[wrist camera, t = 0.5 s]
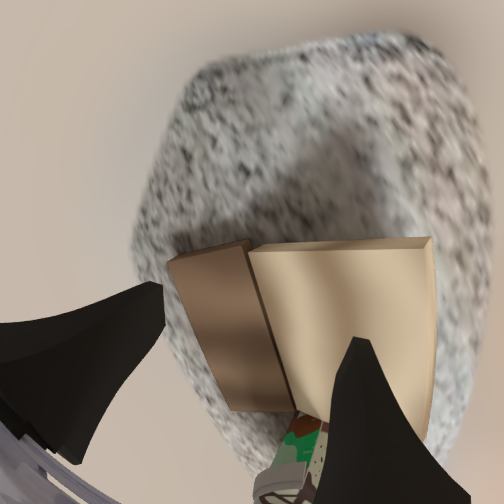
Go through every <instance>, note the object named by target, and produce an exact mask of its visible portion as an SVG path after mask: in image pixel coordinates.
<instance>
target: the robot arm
mask: <svg viewBox="0 0 504 504" xmlns="http://www.w3.org/2000/svg"><path fill="white" fill-rule="evenodd" d="M165 326H166V324H165V312H164V299H163V285H161V284H157V283H154V282H151V281H148V282H145V283H142V284H140V285H137V286H135V287H132V288H130V289H128V290H125V291H123V292H120V293H118V294H116V295H113V296H111V297H109V298H106V299H104V300H101V301H98V302H96V303H93V304H90V305H88V306H85V307H83V308H80V309H77V310H74V311H71V312H67V313H63V314H60V315H56V316H52V317H47V318H42V319H37V320H31V321H23V322H12V323H0V504H79V503H78V502H77V501H76V500H74V499H73V498H72V497H70V496H69V495H68V494H66V493H65V492H64V491H62V490H61V489H59V488H58V487H57V486H55V485H54V484H53V483H51V482H50V481H49V480H48V479H47V473H46V472H48V473H49V474H50V475H51V476H52V477H54V478H55V479H56V480H58V481H59V482H60V483H61V484H62V485H64V486H65V487H66V488H68V489H69V490H70V491H72V492H73V493H74V494H76V495H77V496H78V497H80V498H81V499H83V500H84V501H86V502H87V503H89V504H121V503H119V502H117V501H115V500H114V499H112V498H110V497H108V496H107V495H105V494H104V493H102V492H100V491H99V490H97V489H96V488H94V487H93V486H91V485H90V484H88V483H87V482H85V481H84V480H82V479H81V478H80V477H78V476H77V475H75V474H74V473H73V472H71V471H70V470H69V469H67V468H66V467H65V466H63V465H62V464H61V463H60V462H58V461H57V460H56V459H55V458H53V457H52V456H51V455H50V454H49V453H47V452H46V451H45V450H46V449H47V448H48V449H49V450H50V451H51V452H52V453H54V454H56V452H57V453H58V454H59V455H61V456H62V457H63V458H65V459H66V460H67V461H69V462H70V463H71V464H73V465H79V464H82V461H83V458H84V455H85V453H86V450H87V448H88V445H89V443H90V441H91V439H92V437H93V434H94V432H95V430H96V428H97V426H98V424H99V422H100V420H101V419H102V417H103V415H104V413H105V411H106V409H107V408H108V406H109V404H110V403H111V401H112V399H113V398H114V396H115V394H116V393H117V391H118V390H119V388H120V387H121V386H122V384H123V383H124V381H125V380H126V379H127V377H129V375H130V374H131V373H132V372H133V370H134V369H135V368H136V367H137V365H138V364H139V363H140V362H141V361H142V359H143V358H144V357H145V356H146V354H147V353H148V352H149V351H150V349H151V348H152V347H153V346H154V344H155V342H156V340H157V339H158V337H159V336H160V334H161V333H162V331H163V329H164V327H165ZM312 504H471V496H470V495H469V494H468V493H467V492H466V491H465V490H464V489H463V488H462V487H461V486H460V485H458V483H456V482H455V481H454V480H453V479H452V478H451V477H450V476H449V475H448V473H447V472H446V471H445V470H444V469H443V468H442V467H441V466H440V465H439V463H438V462H437V461H436V460H435V459H434V457H433V456H432V455H431V454H430V452H429V451H428V450H427V448H426V447H425V446H424V444H423V443H422V442H421V440H420V439H419V437H418V436H417V434H416V433H415V431H414V430H413V428H412V426H411V425H410V423H409V422H408V420H407V418H406V417H405V415H404V413H403V411H402V409H401V408H400V406H399V404H398V402H397V400H396V398H395V396H394V394H393V392H392V390H391V388H390V385H389V383H388V381H387V379H386V377H385V375H384V372H383V370H382V368H381V365H380V363H379V361H378V358H377V356H376V353H375V351H374V349H373V346H372V344H371V342H370V340H369V339H365V338H360V337H355V336H353V337H352V340H351V342H350V344H349V347H348V349H347V351H346V353H345V356H344V358H343V360H342V362H341V364H340V366H339V369H338V371H337V373H336V376H335V381H334V386H333V392H332V397H331V407H330V419H329V430H328V440H327V449H326V455H325V461H324V465H323V469H322V473H321V477H320V480H319V484H318V487H317V491H316V494H315V497H314V500H313V503H312Z"/></svg>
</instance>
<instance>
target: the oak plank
mask: <svg viewBox="0 0 504 504" xmlns="http://www.w3.org/2000/svg"><path fill="white" fill-rule="evenodd" d="M248 255H249V258H250V261H251V264H252V267H253V271H254V274H255V277H256V280H257V283H258V287H259V290H260V293H261V296H262V299H263V303H264V306H265V309H266V312H267V315H268V319H269V322H270V325H271V328H272V331H273V335H274V338H275V341H276V344H277V347H278V350H279V354H280V357H281V360H282V363H283V366H284V370H285V373H286V376H287V379H288V382H289V385H290V388H291V392H292V395H293V398H294V401H295V404H296V407H297V410H299V411H301V412H304V413H306V414H308V415H311V416H313V417H315V418H318V419H320V420H323V421H325V422H328V423H329V419H330V407H331V397H332V392H333V386H334V381H335V376H336V373H337V371H338V369H339V366H340V364H341V362H342V360H343V358H344V356H345V353H346V351H347V349H348V347H349V344H350V342H351V340H352V337H353V336H355V337H360V338H365V339H369V340H370V342H371V344H372V346H373V349H374V351H375V353H376V356H377V358H378V361H379V363H380V365H381V368H382V370H383V372H384V375H385V377H386V379H387V381H388V383H389V385H390V388H391V390H392V392H393V394H394V396H395V398H396V400H397V402H398V404H399V406H400V408H401V409H402V411H403V413H404V415H405V417H406V418H407V420H408V422H409V423H410V425H411V426H412V428H413V430H414V431H415V433H416V434H417V436H418V437H419V439H420V440H421V442H422V443H423V441H424V439H425V438H426V435H427V430H428V424H429V418H430V411H431V404H432V396H433V388H434V377H435V365H436V346H437V296H436V277H435V263H434V253H433V244H432V237H407V238H384V239H361V240H339V241H318V242H298V243H278V244H264V245H262V246H260V247H258V248H256V249H254V250H252V251H250V252H248Z"/></svg>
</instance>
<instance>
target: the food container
mask: <svg viewBox="0 0 504 504" xmlns="http://www.w3.org/2000/svg"><path fill="white" fill-rule="evenodd" d="M328 430H329V423H328V422H325V421H323V420H320V419H318V418H315V417H313V416H311V415H308V414H306V413H304V412H301V411H299V410H298V411H297V412H296V413H295V415H294V417H293V419H292V421H291V424H290V426H289V428H288V430H287V433H286V435H285V437H284V439H283V441H282V444H281V446H280V448H279V450H278V452H277V454H276V456H275V458H274V460H273V462H272V464H271V466H270V468H268V469H266V470H264V471H262V472H261V473H259V474H258V476H257V477H256V479H255V482H254V489H253V500H254V504H312V503H313V500H314V497H315V494H316V491H317V487H318V484H319V480H320V477H321V473H322V469H323V465H324V461H325V455H326V449H327V440H328Z"/></svg>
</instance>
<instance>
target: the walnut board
mask: <svg viewBox="0 0 504 504" xmlns="http://www.w3.org/2000/svg"><path fill="white" fill-rule="evenodd" d="M252 250H253V247H252V244H251V241H250V238H249V239H245V240H240V241H236V242H232V243H227V244H223V245H219V246H215V247H210V248H206V249H202V250H198V251H194V252H189V253H185V254H181V255H178V256H176V257H175V258H173V259H171V260H170V261H168V262H167V265H168V268H169V270H170V273H171V276H172V278H173V281H174V284H175V286H176V289H177V291H178V294H179V296H180V299H181V302H182V304H183V307H184V309H185V312H186V314H187V316H188V319H189V321H190V324H191V326H192V328H193V331H194V333H195V335H196V338H197V340H198V342H199V345H200V347H201V349H202V352H203V354H204V356H205V358H206V360H207V363H208V365H209V367H210V369H211V371H212V374H213V376H214V378H215V380H216V382H217V384H218V386H219V388H220V390H221V392H222V395H223V397H224V399H225V401H226V403H227V405H228V407H229V409H230V411H243V412H295V410H296V404H295V401H294V398H293V395H292V392H291V388H290V385H289V382H288V379H287V376H286V373H285V370H284V366H283V363H282V360H281V357H280V354H279V350H278V347H277V344H276V341H275V338H274V335H273V331H272V328H271V325H270V322H269V319H268V315H267V312H266V309H265V306H264V303H263V299H262V296H261V293H260V290H259V287H258V283H257V280H256V277H255V274H254V271H253V267H252V264H251V261H250V258H249V255H248V252H250V251H252Z"/></svg>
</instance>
